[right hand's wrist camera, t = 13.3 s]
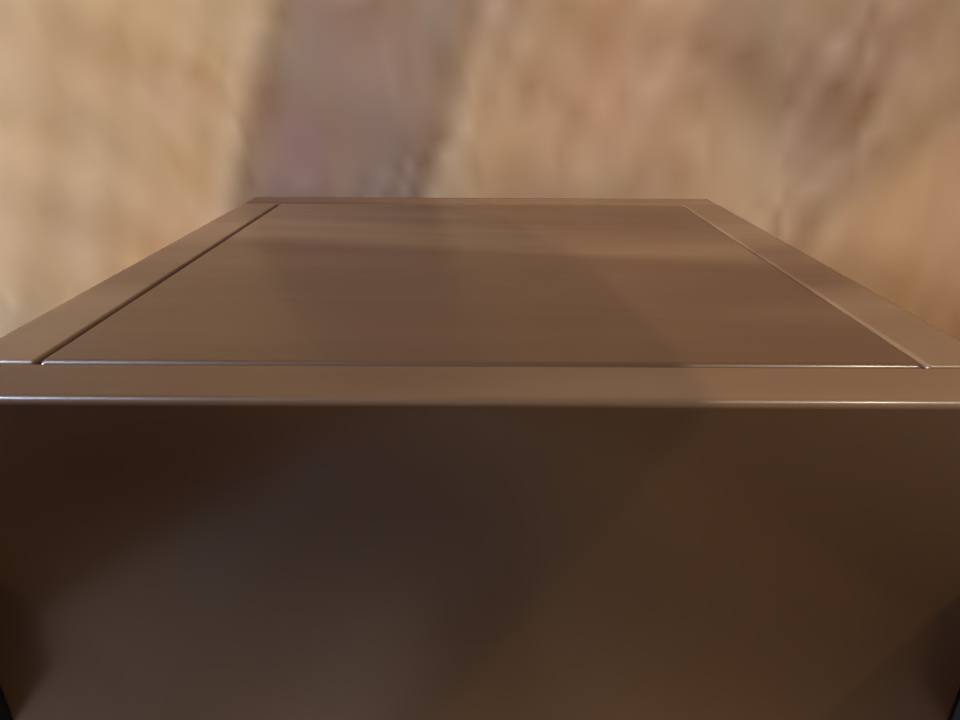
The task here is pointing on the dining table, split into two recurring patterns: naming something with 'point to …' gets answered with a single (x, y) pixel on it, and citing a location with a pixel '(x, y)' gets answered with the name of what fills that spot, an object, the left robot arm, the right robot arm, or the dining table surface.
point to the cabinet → (479, 475)
